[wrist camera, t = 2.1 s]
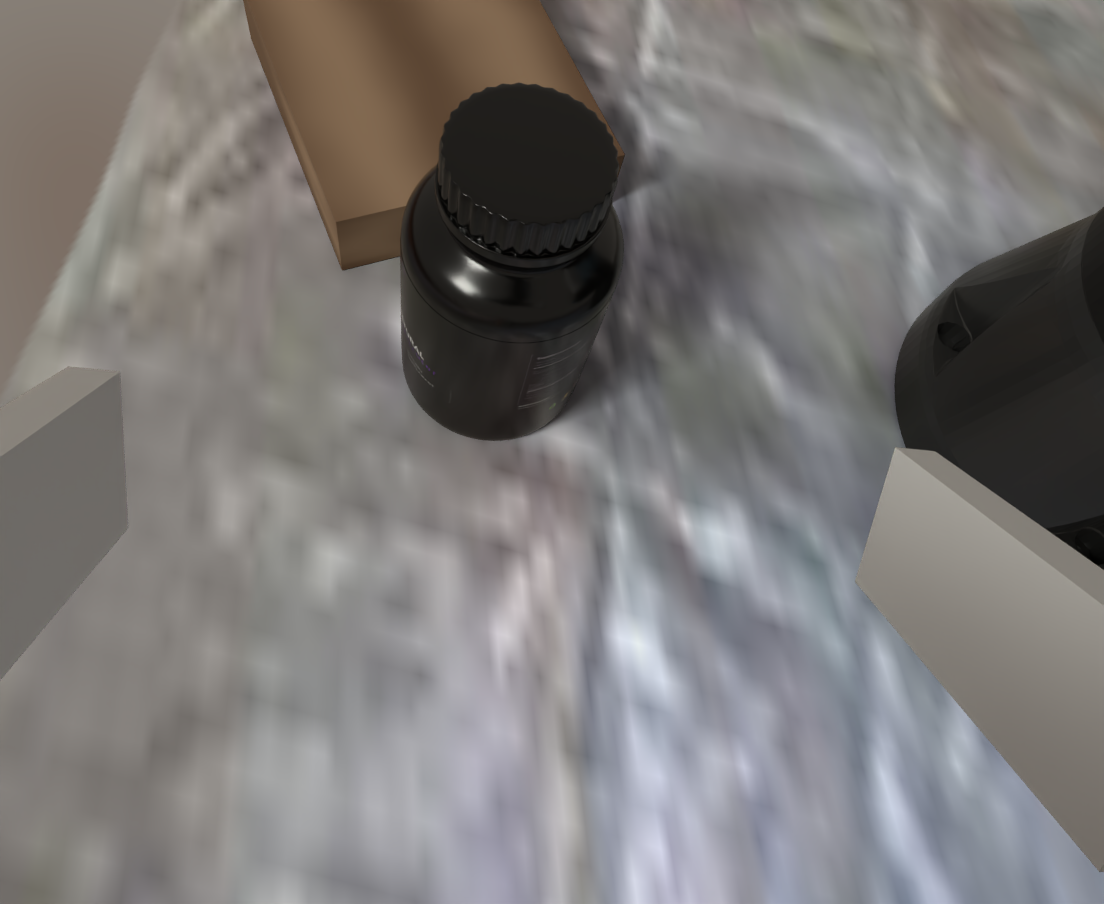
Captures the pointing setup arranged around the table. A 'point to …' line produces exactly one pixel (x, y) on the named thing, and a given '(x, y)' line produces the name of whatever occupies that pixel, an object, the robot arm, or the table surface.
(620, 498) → the table surface
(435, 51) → the brown flat block
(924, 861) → the table surface
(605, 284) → the supplement bottle
